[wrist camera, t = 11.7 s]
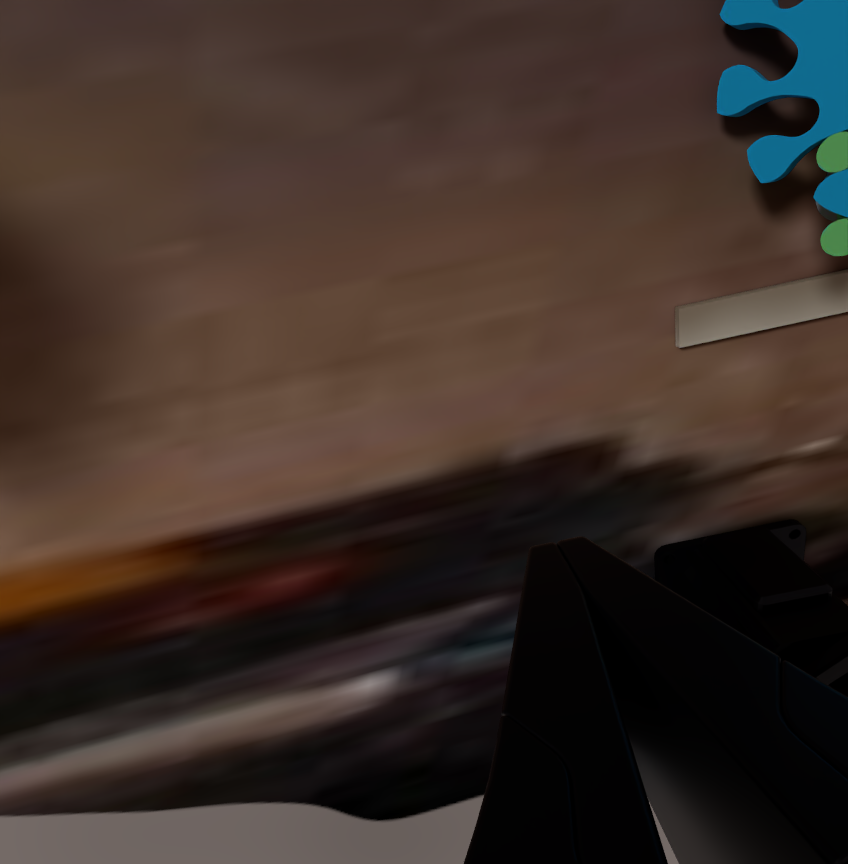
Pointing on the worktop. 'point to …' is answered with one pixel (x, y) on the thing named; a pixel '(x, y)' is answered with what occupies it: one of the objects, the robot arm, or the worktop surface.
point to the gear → (810, 78)
